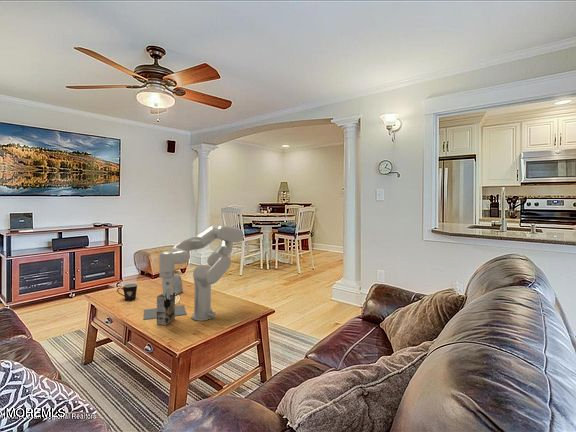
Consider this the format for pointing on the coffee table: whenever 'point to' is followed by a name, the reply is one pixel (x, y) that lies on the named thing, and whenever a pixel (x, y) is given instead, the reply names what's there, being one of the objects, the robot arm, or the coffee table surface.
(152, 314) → the mat
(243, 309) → the coffee table surface
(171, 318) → the coffee box
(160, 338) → the coffee table surface
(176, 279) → the decorative stone
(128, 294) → the coffee mug
